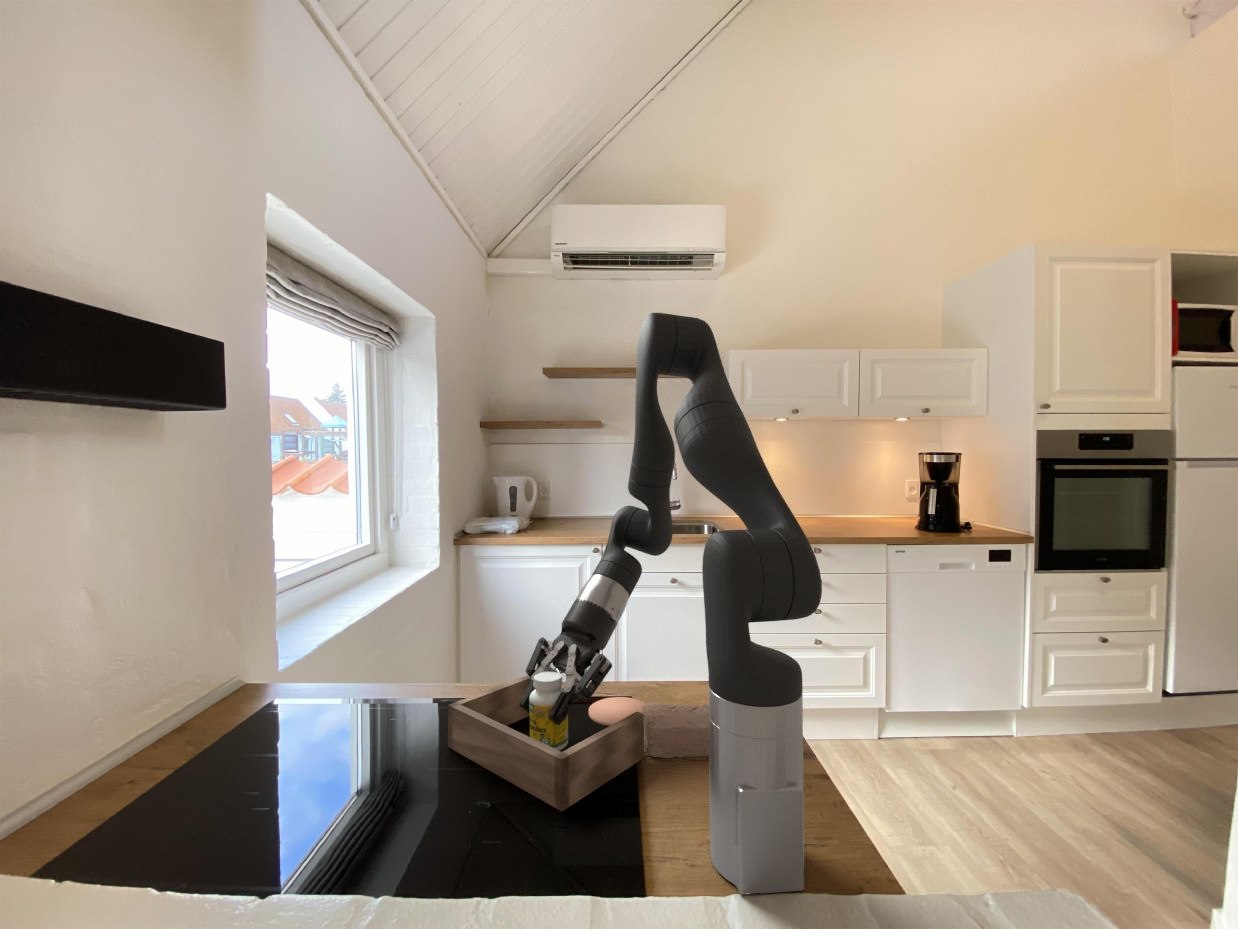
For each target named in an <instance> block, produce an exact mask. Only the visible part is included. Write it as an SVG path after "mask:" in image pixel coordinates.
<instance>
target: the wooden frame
mask: <svg viewBox="0 0 1238 929" xmlns="http://www.w3.org/2000/svg"><path fill="white" fill-rule="evenodd" d="M530 683H531V678H530V677H529V675H528V674H526V675H525V676H522V677H519V678H517V679H514V680H511V681H508V682H506V683H503V684H501V685H498V686H495V687H493V688H490V689H486V690H485V691H482V692H479V693H477V694H473V695H471V696H468V697H465V698H463V699H460V700H457V701H454V702H453V703H450V704H449V703H448V705H447V747H448V748H449V749H451V750H452V751H454V752H456V753H458V754H460V755H461V756H463V757H464V758H467V759H468V760H470V761H472V762H474V763H476V764H477V765H479V766H481V767H482V768H484V769H486V770H488V771H490V772H492V774H494V775H496V776H498V777H500V778H501V779H504V780H506V781H507V782H509V783H511V784H513V785H515V786H516V787H518V788H519V789H521V790H523V791H525V792H527V793H528V794H529V795H531V796H534V797H535V798H537V799H538V800H541V801H542V802H544V803H545V804H548V805H549V806H551V807H553V808H554V809H557V810H558V811H560V812H563V811H565V810H566V809H568V808H570V807H571V806H573V805H575V804H576V803H577V802H579V801H580V800H582V799H584V798H585V797H587V796H588V795H590V794H591V793H593V792H595V791H596V790H597V789H599V788H601V787H602V786H603V785H605V784H606V783H608V782H609V781H611V780H613V779H614V778H616V777H617V776H619V775H620V774H621V773H623V772H624V771H626V770H628V769H630V768H631V767H632V766H634V765H635V764H636V763H639V762H640V761H642V760H643V759H644V758H645V739H644V714H643V713H640V712H635V713H633V714H631V715H629V716H627V717H626V718H624V719H622V720H620V721H618V722H616V723H614V724H613V725H611V726H606V727H605V728H604V729H601V730H600V731H598V732H596V733H594V734H592V735H591V736H588V737H587V738H584V740H582V741H580V742H577V743H576V744H574V745H572V746H570V747H568V748H567V749H565V750H563V751H561V750H560V751H559V750H557V749H554V748H552V747H550V746H548V745H546V744H544V743H542V742H539V741H537V740H535V739H533V738H531V737H530V735H527V734H524V733H522V732H519V731H518V730H515V729H513V728H511V727H509V725H511V724H515V723H516V722H518V721H521V720H523V719H525V718H527V717H530V713H529V712H526V711H525V710H524V709H522V708H521V707H520V701H521V698H522V696H523V695H524V693H525V691H526V690H527V688H528V686H529V684H530Z"/></svg>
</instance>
